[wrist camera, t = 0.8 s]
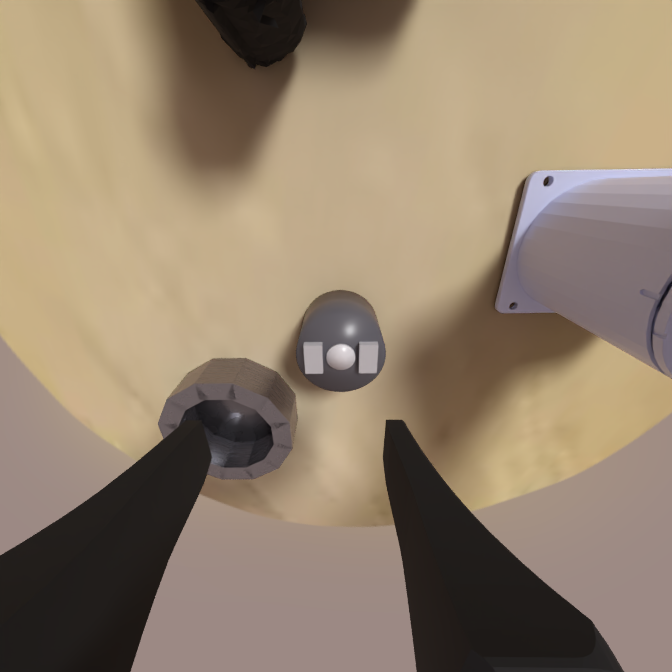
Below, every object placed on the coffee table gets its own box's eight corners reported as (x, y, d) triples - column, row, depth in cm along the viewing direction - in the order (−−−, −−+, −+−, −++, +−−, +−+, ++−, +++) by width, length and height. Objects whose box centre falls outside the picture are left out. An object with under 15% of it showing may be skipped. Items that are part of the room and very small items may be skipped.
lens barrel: (291, 357, 21) (285, 382, 18) (300, 447, 25) (296, 478, 22) (167, 359, 21) (142, 384, 18) (196, 448, 25) (179, 479, 22)
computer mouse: (379, 289, 19) (390, 317, 15) (375, 356, 21) (383, 395, 17) (301, 290, 19) (291, 318, 15) (305, 357, 21) (298, 396, 17)
